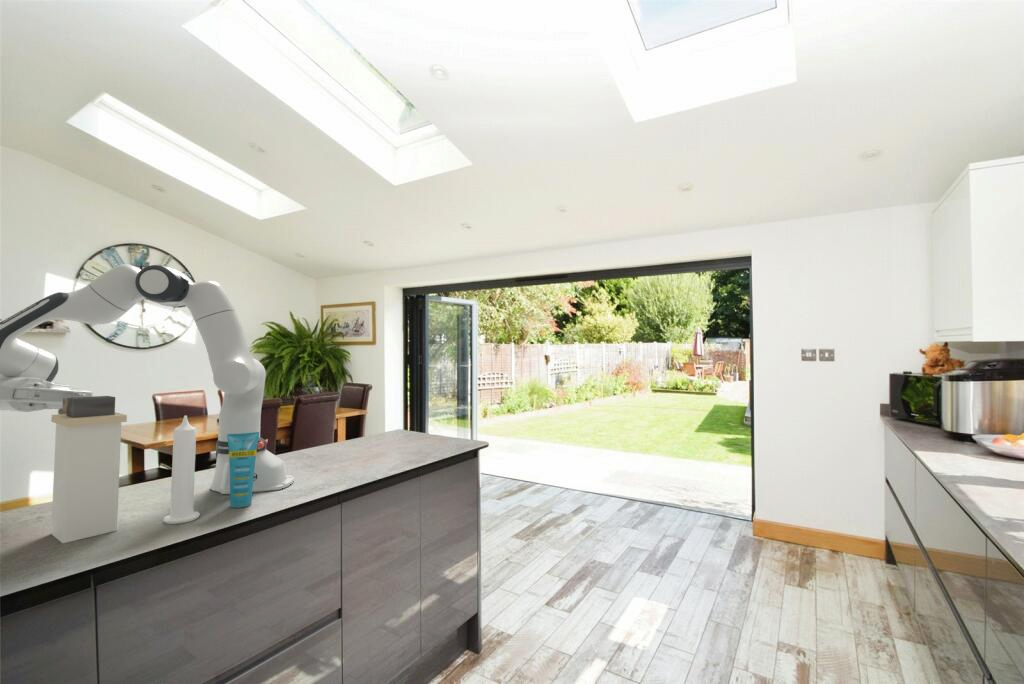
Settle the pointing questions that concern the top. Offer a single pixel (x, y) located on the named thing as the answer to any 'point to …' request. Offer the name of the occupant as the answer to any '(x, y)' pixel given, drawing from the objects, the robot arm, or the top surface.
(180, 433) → the candle
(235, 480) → the tube
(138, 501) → the top surface
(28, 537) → the top surface
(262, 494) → the top surface
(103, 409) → the mallet
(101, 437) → the shelf post
